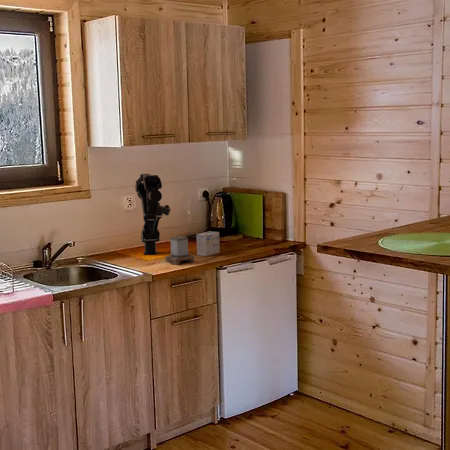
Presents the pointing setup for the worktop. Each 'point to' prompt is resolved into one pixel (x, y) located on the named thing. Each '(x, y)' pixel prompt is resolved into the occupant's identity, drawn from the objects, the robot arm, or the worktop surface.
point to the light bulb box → (208, 243)
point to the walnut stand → (179, 259)
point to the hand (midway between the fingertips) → (154, 232)
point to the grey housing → (179, 246)
